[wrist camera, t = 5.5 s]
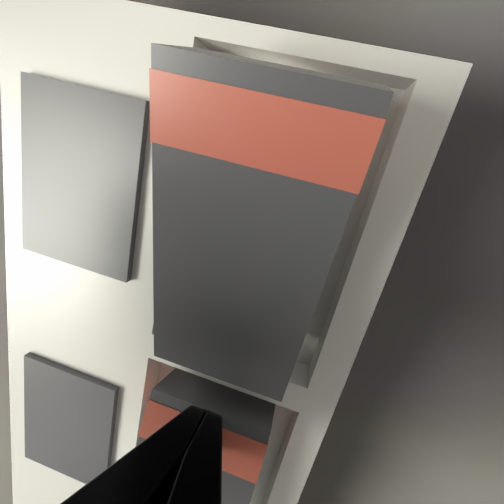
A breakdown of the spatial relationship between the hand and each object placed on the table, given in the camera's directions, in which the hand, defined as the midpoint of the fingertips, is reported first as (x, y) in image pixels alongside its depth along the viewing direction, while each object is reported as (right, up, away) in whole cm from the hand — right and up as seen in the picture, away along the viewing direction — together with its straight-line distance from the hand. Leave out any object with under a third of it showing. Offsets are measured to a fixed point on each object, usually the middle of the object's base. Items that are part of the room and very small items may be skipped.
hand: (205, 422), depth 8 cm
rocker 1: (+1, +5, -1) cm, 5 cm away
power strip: (-1, -1, +6) cm, 6 cm away
